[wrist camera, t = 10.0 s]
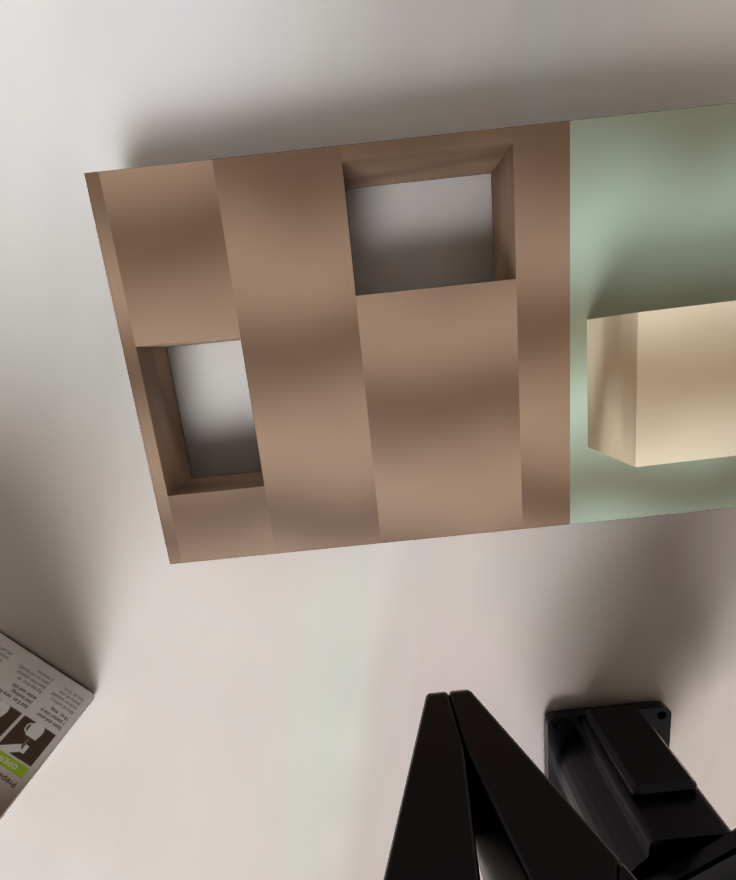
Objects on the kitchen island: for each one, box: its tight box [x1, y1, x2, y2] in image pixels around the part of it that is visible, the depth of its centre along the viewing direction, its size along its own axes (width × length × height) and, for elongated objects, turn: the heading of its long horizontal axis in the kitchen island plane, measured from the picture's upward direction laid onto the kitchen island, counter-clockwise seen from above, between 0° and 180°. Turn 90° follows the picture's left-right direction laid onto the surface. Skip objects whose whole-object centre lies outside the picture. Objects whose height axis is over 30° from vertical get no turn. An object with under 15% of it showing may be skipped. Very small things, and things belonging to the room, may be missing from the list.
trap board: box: [84, 103, 736, 564], centre depth 17 cm, size 15×25×2 cm, turn 96°
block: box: [587, 301, 736, 467], centre depth 15 cm, size 5×5×3 cm
